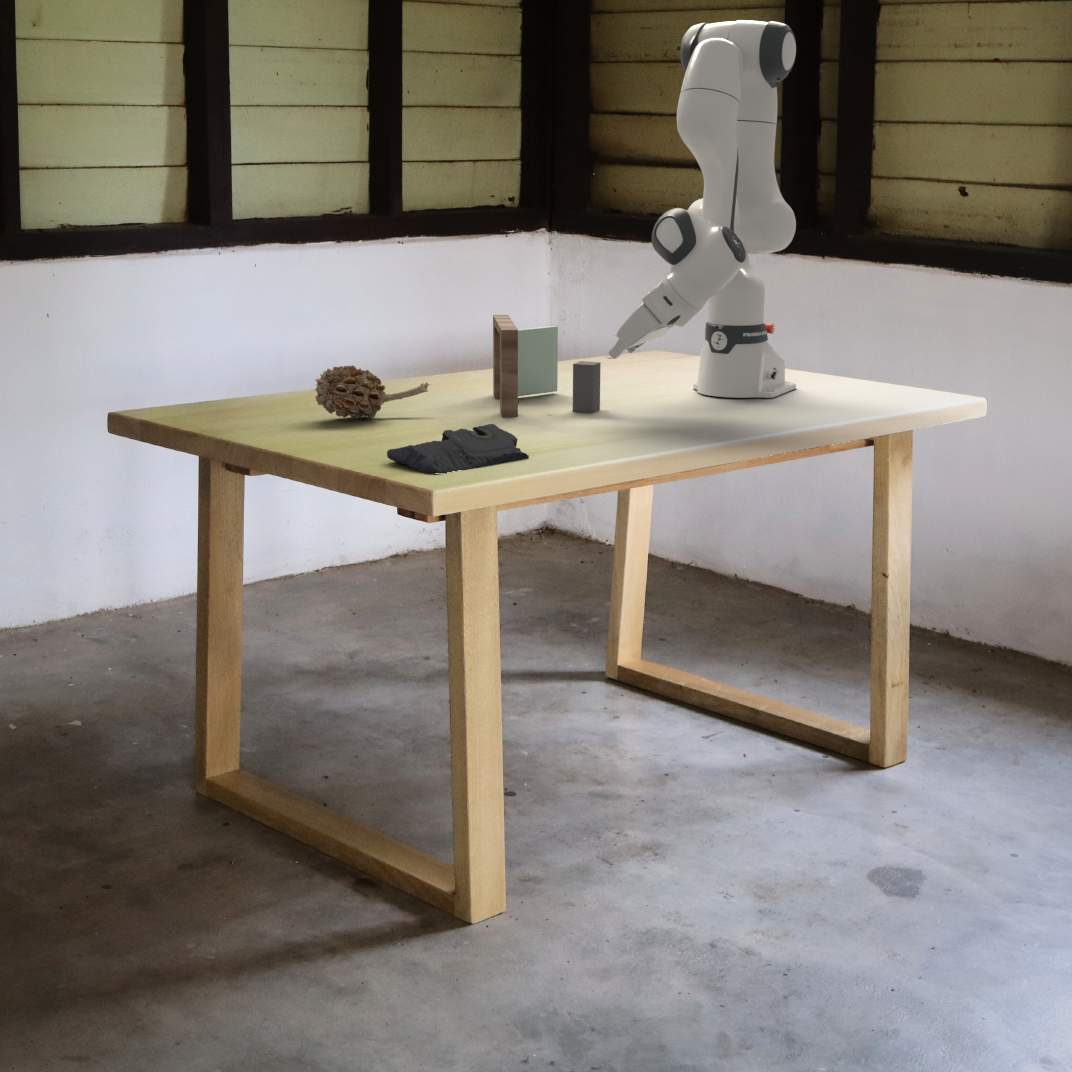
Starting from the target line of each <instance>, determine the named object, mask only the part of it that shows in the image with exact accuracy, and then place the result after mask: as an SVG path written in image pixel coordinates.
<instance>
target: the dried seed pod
mask: <svg viewBox="0 0 1072 1072" xmlns="http://www.w3.org/2000/svg"><path fill="white" fill-rule="evenodd" d="M332 367H333V368H332V369H331V368H327V369H326V370H324V371H322V373H320V378H315V380H314V381H316V384H315V387H316V388H315V392H316V394H317V395H315V401H316V402H317V405H318V406H322V408H324V409H325V411H326V412H328V414H330V415H332V414H333V413H335V416H337V417H340V418H341V417H343V418H347V417H348V416H349V417H350V418H351V419H352V420H355V419H358V418H359V419H361V418H363V417H364V418H369V419H372V418H375V417H376V415H377V413H378V412H380V411H381V409H382V405H384V403H388V402H392V401H395V400H396V401H397V400H403V399H405V398H410V397H413V396H416V395H417V396H418V395H420V394H423V393H426V392H429V391H428V387H429V386H431V384H429V383H428V382H425V383H423V382H422V383H421V384H420V385H418V386H417V387H414V388H410V389H408V390H404V391H400V392H396V393H395V392H393V393H388V394H386V393H387V392H385V391H384V390H386V385H383V384H382V380H381V379H380V378H379V377H378V376H377V375H375V374H373V373H372V372H371V371H370V370H368V369H367V370H364V369H363V370H362V368H357V367H356V366H355V365H344V366H342V365H340V366H332Z"/></svg>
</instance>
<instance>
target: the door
mask: <svg viewBox="0 0 1072 1072" xmlns="http://www.w3.org/2000/svg"><path fill="white" fill-rule="evenodd" d="M558 328H559V326H555V325H551V326H541V327H539V326H538V327H531V328H520V329H518V328H517V329H518V397H522V396H523V397H525V396H532V395H541V394H546V393H554V392H558V374H559V373H558V358H559V354H558V353H559V351H558V347H559V344H558V343H559V339H558V338H559V337H558V336H559V333H558V332H559V329H558Z"/></svg>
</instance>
